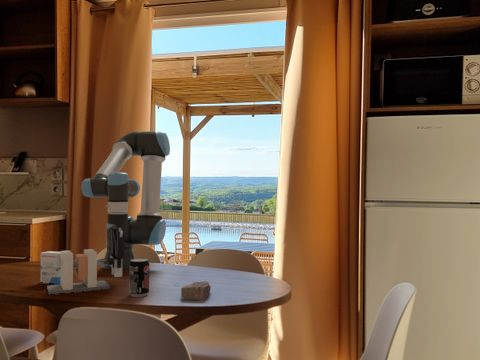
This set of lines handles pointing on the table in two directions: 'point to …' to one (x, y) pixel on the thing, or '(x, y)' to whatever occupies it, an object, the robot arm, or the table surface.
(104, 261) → the shaft
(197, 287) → the stone
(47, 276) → the ink box
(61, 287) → the jig
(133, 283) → the beverage can
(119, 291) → the table surface
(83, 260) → the spacer
